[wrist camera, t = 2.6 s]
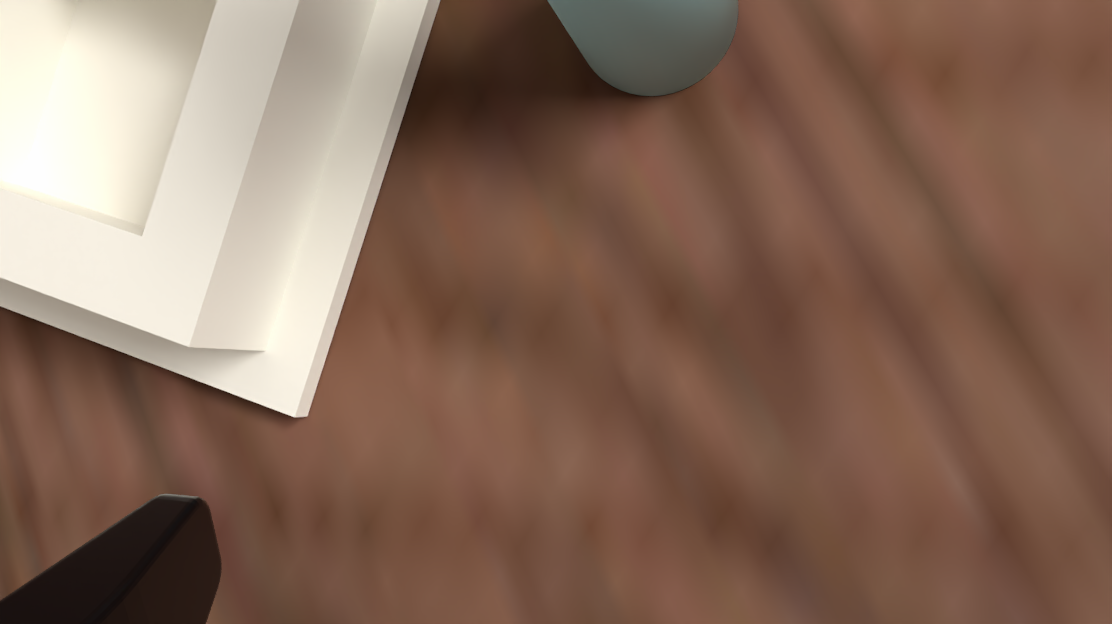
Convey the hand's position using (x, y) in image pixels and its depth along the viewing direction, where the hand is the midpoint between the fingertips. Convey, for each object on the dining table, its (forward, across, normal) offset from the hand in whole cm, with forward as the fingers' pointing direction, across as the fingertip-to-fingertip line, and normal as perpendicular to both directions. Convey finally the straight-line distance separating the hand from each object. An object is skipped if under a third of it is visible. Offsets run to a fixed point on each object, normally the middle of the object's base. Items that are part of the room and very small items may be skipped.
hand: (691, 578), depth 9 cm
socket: (+16, +13, +2) cm, 20 cm away
